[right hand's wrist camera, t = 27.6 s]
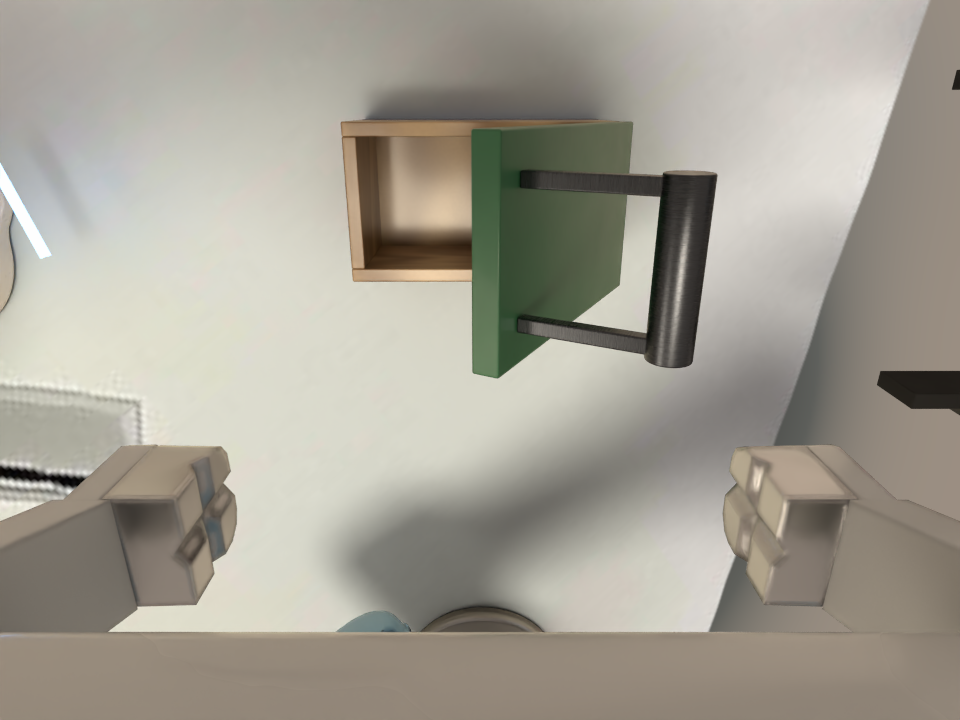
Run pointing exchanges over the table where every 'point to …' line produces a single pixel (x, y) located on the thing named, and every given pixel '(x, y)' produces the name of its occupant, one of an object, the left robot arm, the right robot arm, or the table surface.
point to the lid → (577, 243)
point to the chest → (413, 196)
